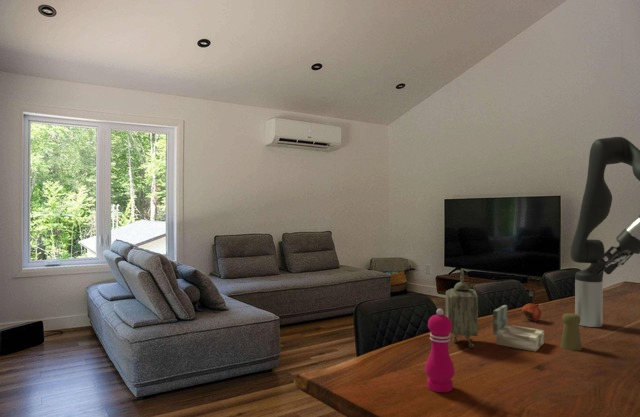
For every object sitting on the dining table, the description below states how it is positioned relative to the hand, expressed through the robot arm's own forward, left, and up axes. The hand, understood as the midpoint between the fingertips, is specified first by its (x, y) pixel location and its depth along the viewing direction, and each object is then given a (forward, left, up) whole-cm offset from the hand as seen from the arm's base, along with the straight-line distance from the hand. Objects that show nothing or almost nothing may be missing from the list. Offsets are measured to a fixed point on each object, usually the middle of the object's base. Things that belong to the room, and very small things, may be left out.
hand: (600, 272), depth 143 cm
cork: (+2, -8, -25) cm, 26 cm away
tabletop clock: (+20, -38, -25) cm, 50 cm away
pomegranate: (-27, -27, -25) cm, 46 cm away
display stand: (+8, -22, -25) cm, 34 cm away
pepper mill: (+60, -28, -25) cm, 71 cm away
